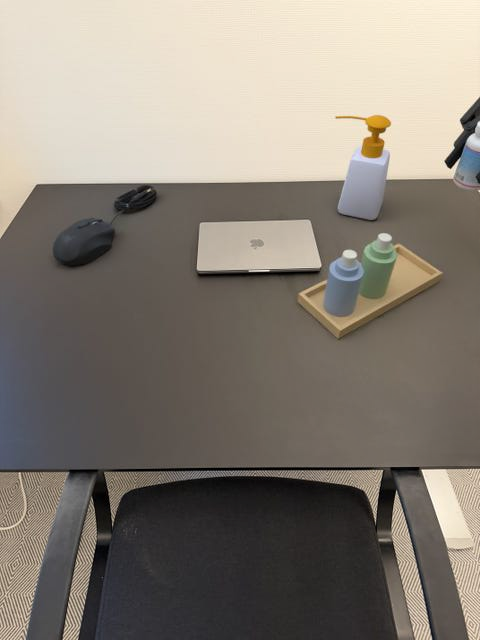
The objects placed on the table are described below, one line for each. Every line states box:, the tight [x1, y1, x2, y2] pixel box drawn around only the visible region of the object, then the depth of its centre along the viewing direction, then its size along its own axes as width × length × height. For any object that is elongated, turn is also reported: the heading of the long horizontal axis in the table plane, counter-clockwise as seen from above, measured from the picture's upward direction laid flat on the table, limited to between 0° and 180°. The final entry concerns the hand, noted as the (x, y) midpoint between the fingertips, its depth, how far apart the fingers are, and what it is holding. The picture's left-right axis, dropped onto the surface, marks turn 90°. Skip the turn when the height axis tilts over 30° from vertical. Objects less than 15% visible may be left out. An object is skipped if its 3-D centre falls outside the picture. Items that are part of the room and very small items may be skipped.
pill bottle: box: [452, 121, 480, 191], centre depth 85 cm, size 6×6×11 cm
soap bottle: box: [334, 114, 392, 221], centre depth 106 cm, size 10×14×22 cm
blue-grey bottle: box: [323, 249, 364, 317], centre depth 85 cm, size 6×6×12 cm
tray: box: [297, 243, 443, 340], centre depth 92 cm, size 28×12×2 cm, turn 124°
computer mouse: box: [52, 184, 158, 266], centre depth 106 cm, size 10×32×6 cm, turn 154°
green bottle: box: [359, 232, 397, 299], centre depth 88 cm, size 6×6×12 cm
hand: (462, 172), depth 85 cm, fingers closed on pill bottle, 6 cm apart
